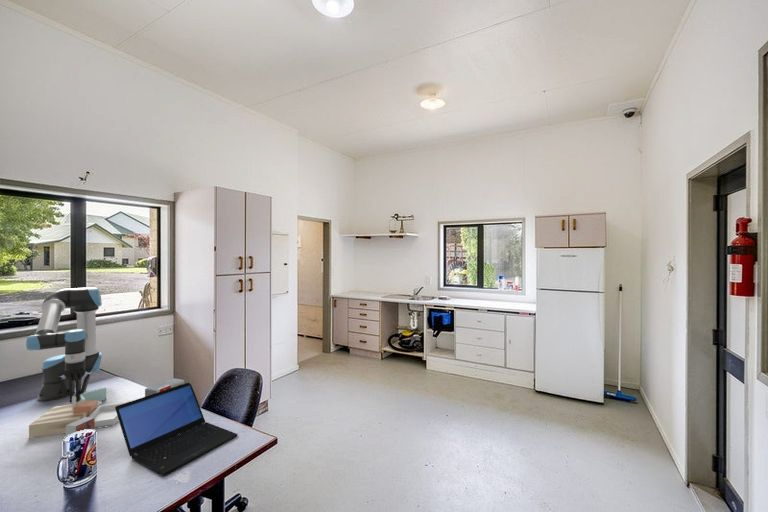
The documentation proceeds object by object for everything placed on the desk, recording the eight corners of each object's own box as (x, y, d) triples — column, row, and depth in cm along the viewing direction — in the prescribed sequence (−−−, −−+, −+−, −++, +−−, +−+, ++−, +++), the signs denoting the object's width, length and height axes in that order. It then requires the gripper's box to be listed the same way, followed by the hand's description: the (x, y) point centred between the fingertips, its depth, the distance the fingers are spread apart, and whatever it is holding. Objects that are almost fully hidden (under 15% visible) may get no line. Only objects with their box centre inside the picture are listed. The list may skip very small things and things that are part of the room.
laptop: (162, 479, 125) (162, 428, 125) (113, 451, 143) (113, 406, 143) (238, 437, 154) (238, 395, 154) (190, 418, 172) (190, 380, 172)
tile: (80, 407, 170) (80, 402, 170) (97, 405, 172) (97, 400, 172) (73, 414, 163) (73, 407, 163) (91, 411, 166) (91, 405, 166)
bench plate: (54, 418, 171) (54, 406, 171) (97, 412, 177) (97, 401, 177) (28, 438, 152) (28, 425, 152) (78, 431, 159) (78, 418, 159)
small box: (75, 450, 143) (75, 426, 143) (65, 449, 144) (65, 425, 144) (95, 440, 150) (95, 417, 150) (85, 439, 152) (85, 416, 152)
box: (99, 412, 178) (99, 405, 178) (129, 408, 182) (129, 401, 182) (80, 430, 159) (80, 423, 159) (113, 425, 164) (113, 418, 164)
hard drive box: (155, 433, 157) (155, 391, 157) (143, 430, 159) (143, 388, 159) (184, 418, 171) (184, 379, 171) (173, 415, 174) (173, 377, 174)
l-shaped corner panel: (83, 413, 177) (83, 399, 177) (77, 407, 184) (77, 394, 184) (111, 405, 187) (111, 392, 187) (105, 400, 194) (105, 387, 194)
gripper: (54, 364, 160) (54, 413, 160) (87, 361, 165) (87, 409, 165) (62, 360, 167) (62, 407, 167) (94, 357, 172) (94, 403, 172)
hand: (75, 408), depth 166 cm, fingers closed
